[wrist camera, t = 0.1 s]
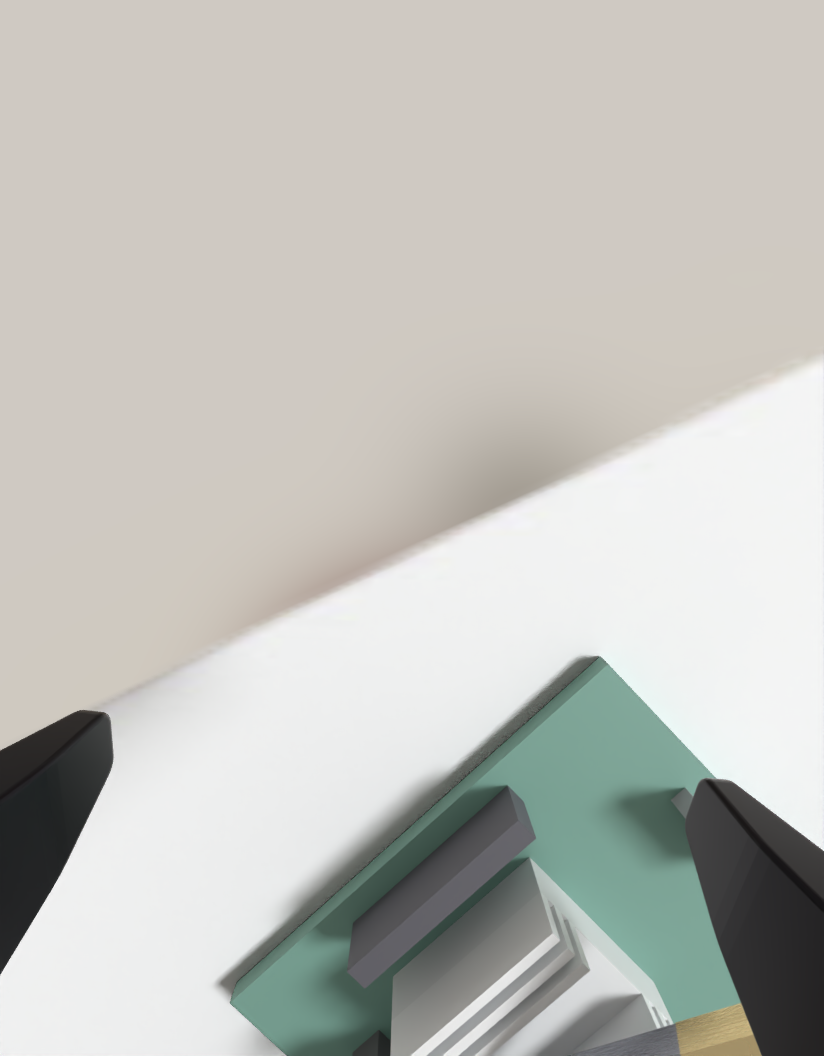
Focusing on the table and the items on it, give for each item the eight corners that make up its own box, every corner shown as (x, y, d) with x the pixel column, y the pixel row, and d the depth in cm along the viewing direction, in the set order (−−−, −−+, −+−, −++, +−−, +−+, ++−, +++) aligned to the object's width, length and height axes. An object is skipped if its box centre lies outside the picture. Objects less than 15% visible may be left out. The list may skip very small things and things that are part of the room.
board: (477, 1205, 27) (492, 1371, 22) (236, 982, 26) (195, 1104, 21) (837, 908, 26) (940, 1013, 21) (600, 656, 24) (648, 704, 19)
